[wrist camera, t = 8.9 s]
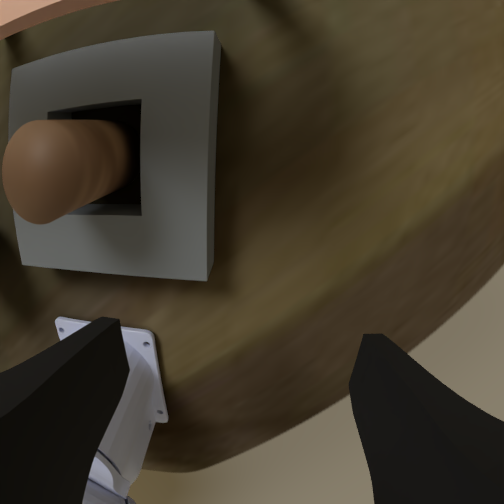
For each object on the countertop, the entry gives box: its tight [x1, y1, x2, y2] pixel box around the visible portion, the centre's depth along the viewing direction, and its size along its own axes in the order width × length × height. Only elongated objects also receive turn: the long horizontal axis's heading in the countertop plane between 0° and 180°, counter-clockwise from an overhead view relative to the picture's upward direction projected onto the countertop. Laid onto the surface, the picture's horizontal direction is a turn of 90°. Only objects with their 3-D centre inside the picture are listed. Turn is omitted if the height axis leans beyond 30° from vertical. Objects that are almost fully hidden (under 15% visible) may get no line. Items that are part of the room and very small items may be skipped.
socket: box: [9, 31, 221, 281], centre depth 15 cm, size 12×12×2 cm
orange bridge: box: [0, 0, 118, 40], centre depth 8 cm, size 6×18×10 cm, turn 87°
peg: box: [2, 120, 140, 225], centre depth 13 cm, size 4×4×7 cm
